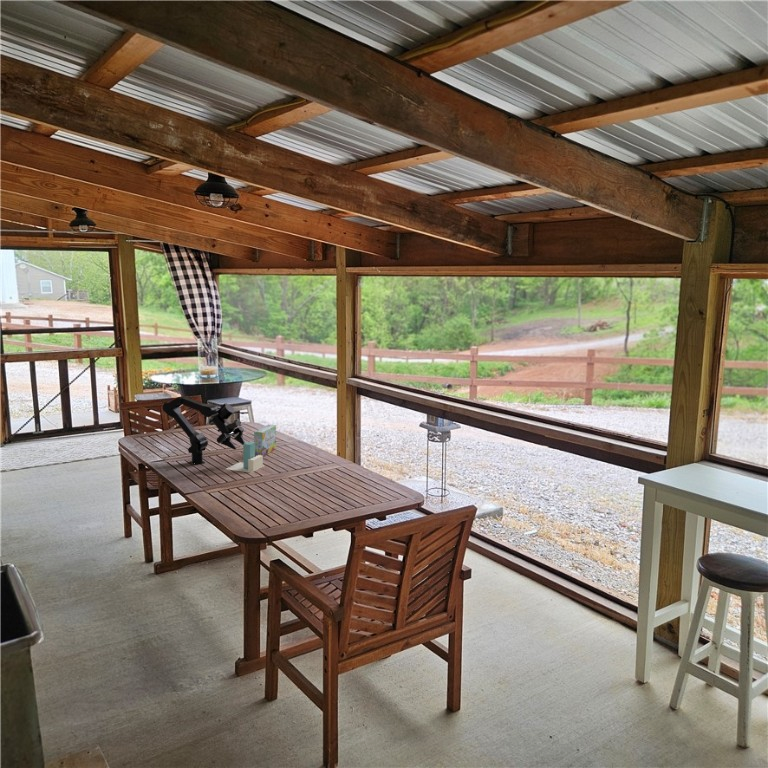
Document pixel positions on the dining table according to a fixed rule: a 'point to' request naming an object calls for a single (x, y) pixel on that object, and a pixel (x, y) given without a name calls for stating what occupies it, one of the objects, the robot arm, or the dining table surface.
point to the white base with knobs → (249, 464)
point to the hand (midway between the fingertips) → (240, 447)
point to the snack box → (265, 440)
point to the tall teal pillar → (248, 453)
